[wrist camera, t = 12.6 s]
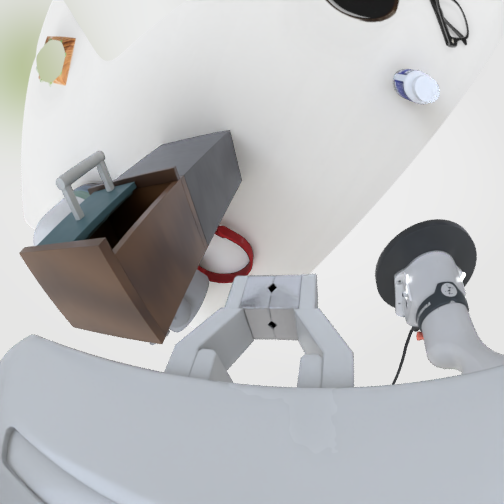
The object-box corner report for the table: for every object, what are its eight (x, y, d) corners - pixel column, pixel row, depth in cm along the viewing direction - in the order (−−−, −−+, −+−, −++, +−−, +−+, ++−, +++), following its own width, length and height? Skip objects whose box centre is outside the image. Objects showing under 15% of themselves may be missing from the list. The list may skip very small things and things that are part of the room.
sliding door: (137, 187, 29) (74, 251, 20) (96, 196, 31) (37, 254, 22) (120, 142, 26) (43, 194, 17) (79, 157, 28) (11, 208, 19)
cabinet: (242, 180, 51) (162, 344, 24) (176, 189, 54) (73, 327, 28) (227, 121, 44) (98, 245, 17) (159, 137, 48) (19, 253, 21)
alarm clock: (192, 242, 62) (152, 318, 46) (221, 265, 65) (191, 343, 48) (161, 275, 72) (125, 341, 55) (187, 293, 75) (157, 360, 58)
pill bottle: (415, 104, 35) (436, 114, 28) (388, 90, 35) (405, 97, 28) (425, 78, 31) (448, 83, 24) (398, 63, 31) (417, 64, 24)
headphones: (160, 239, 63) (231, 276, 70) (151, 261, 58) (228, 299, 65) (187, 196, 54) (267, 242, 62) (178, 217, 49) (266, 266, 56)
